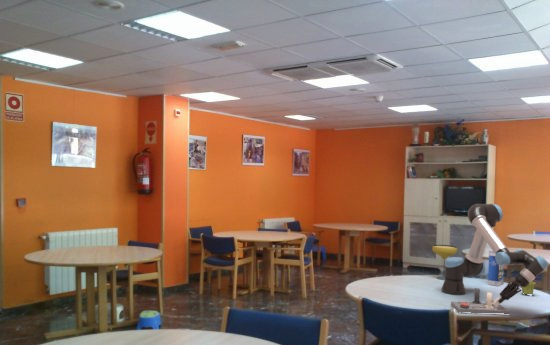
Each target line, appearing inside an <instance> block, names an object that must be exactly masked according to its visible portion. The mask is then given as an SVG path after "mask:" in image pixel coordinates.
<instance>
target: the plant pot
mask: <svg viewBox="0 0 550 345" xmlns="http://www.w3.org/2000/svg"><path fill="white" fill-rule="evenodd" d="M535 286H536V282H534V281H531V282H529V284H528V285H527V286H526V287H523V286H522V288H521V290H522V291H521V293H524V294H533V295H534V290H535Z"/></svg>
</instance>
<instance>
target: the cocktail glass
mask: <svg viewBox="0 0 550 345" xmlns="http://www.w3.org/2000/svg"><path fill="white" fill-rule="evenodd" d="M432 252H433V253H435V254H437V256H440V257H441V258H442V260H443V271H442V272H443V275H442V276H437V277H436V279H437V280H441V281H445V261H446V259H447V258H450V257H451V256H453V255H455V254H457V252H458V247H457V246H454V245H448V244H447V245H446V244H433V245H432Z"/></svg>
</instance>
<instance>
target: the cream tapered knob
mask: <svg viewBox="0 0 550 345" xmlns="http://www.w3.org/2000/svg"><path fill="white" fill-rule="evenodd" d="M492 299H493V292H489V291H488V292H486V300H487V305H485V308H490V309H494V307H493V306H492Z"/></svg>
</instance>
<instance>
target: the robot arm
mask: <svg viewBox="0 0 550 345" xmlns="http://www.w3.org/2000/svg"><path fill="white" fill-rule="evenodd" d="M503 216H504V214H503V210H502V208H501V206H499V205H498V204H495V203H475V204H473V205H471V206H470V208H469V209H468V210H467V218H468V221H469V222H470V224H471V225H472V226H473V227H475V229H476V230H475V233H474V236H473V240H472V242H471V245H470V249H469V251H468V253H466V254H465V256H464V258H463V257H460V256H456V257H455V256H452V257H451V256H449V257H447V258H446V259H445V280H443V284H442V287H441V292H442V293H444V294H448V295H454V296H455V295H456V296H459V295H460V296H461V295H466V287H465V285H464V278H465V277H473V278H474V277H479V276H482V275H483V274H484V271H485V269H486V268H485V263H484V259H483V255H484V252H485V249H486V247H487V244H488V246H489V247H490V250H491V249H492V250H493V251H494V253H495V254H496V255H495V259H496V262H497V263H498V264H499V265H504V266H520V265H521V266H523V267H524V268H523V269H522V270H520V272H519V273H518V274H516V275H515V276H514V281H512V282H508V283H507V285H506V286H505V287H504V288H503V290H501V291H500V293H499V296H498V297H497V298H495V299H496V300H495V301H494V302H493V303H492V304H493V305H494V306H495V307H498V306H499V305H502V303H503V302H504V301H508V300H510V299H511V298H513V297H514V296H516V295H518V293H520V292H522V286H523V287H526V286H527V285H528V284H529V282H534V280H535V279H536V278H537V277H538V276H539V275H541V274H542V272H544V271H545V270H546V269H547V268H548V267H549V265H550V263H549V262H548V261H547V260H546V258H544V257H543V256H540V255H537V256H533V255H532V254H530V253H529V252H528V251H526V250H524V249H521V248H518V249H515V250H514V251H510V250H509V249H508V247H507V246H506V244H505V243H504V242H503V240H502V239H501V238H500V236H499V235H498V234H497V232H496V231H495V230H494V229H493V228H495V227H496V226H497V223H499V222H502V219H503Z"/></svg>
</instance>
